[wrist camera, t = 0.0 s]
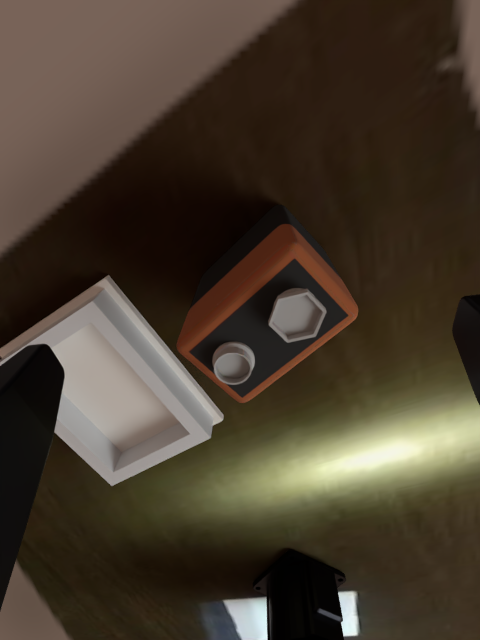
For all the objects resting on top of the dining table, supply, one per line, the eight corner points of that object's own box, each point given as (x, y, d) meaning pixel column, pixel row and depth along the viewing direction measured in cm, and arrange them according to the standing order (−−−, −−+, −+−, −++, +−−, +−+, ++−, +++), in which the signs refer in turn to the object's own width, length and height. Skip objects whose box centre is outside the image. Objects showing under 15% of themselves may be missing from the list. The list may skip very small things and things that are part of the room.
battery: (327, 252, 23) (372, 326, 14) (246, 322, 26) (241, 424, 17) (279, 199, 22) (295, 243, 13) (198, 277, 24) (164, 360, 15)
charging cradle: (223, 415, 29) (220, 439, 27) (121, 465, 32) (111, 492, 29) (108, 274, 25) (93, 289, 22) (1, 347, 27) (-23, 367, 25)
